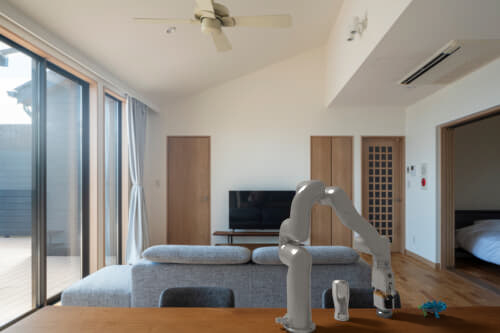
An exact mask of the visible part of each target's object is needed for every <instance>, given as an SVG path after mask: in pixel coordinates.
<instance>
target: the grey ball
mask: <svg viewBox="0 0 500 333" xmlns="http://www.w3.org/2000/svg"><path fill="white" fill-rule="evenodd" d="M393 313H394V312H393V311H392V309H391V310H381V309H379V308H378V307H377V308H376V316H377V315H378V316H377V317H379V316H380V317H379V318H382V317H383V318H382V319H392V318H393V317H392V316H393ZM391 317H392V318H391Z"/></svg>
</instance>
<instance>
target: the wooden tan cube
mask: <svg viewBox="0 0 500 333" xmlns="http://www.w3.org/2000/svg"><path fill="white" fill-rule="evenodd" d="M387 294H388V296H389V293H387ZM385 299H386V297H385V293H384V292H383V291H374V290H373V306H374V307H376V308H377V309H378V308H379V309H381V310H391V311H392V310H395V297H394V298H393V300H392V302H393V309H386V308H385Z"/></svg>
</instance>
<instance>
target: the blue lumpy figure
mask: <svg viewBox="0 0 500 333" xmlns="http://www.w3.org/2000/svg"><path fill="white" fill-rule="evenodd" d="M418 309H419V310H421V312H422V313H423V315H424V317H425V316H427V312H430V313H432V312H435V313H434V315H435V317H436V319H437V318H439V319H440V315H439V312H440V313H442V311H443V312H444V311H445V312H446V310H447V309H448V306H447V303H446V302H443V301H442V300H438V301H437V300H435V299H434V300H432V302H431V301H430V300H427V301H426V302H423V303H422V305H421V304H419V305H418Z"/></svg>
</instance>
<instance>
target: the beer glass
mask: <svg viewBox="0 0 500 333" xmlns="http://www.w3.org/2000/svg"><path fill="white" fill-rule="evenodd" d="M331 286H332V287H331V289H332V290H331V291H332V299H333V304H334V317H333V318H334V319H335V320H336V321H340V322H347V321H349V320H350V316H349V301H350V286H349V282H348V280H347V281H346V280H343V279H334V280H332V285H331Z"/></svg>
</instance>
